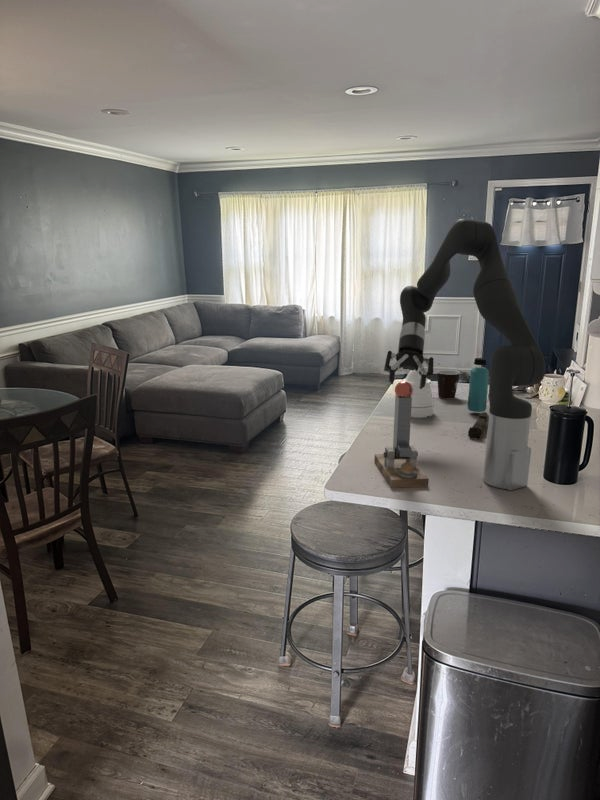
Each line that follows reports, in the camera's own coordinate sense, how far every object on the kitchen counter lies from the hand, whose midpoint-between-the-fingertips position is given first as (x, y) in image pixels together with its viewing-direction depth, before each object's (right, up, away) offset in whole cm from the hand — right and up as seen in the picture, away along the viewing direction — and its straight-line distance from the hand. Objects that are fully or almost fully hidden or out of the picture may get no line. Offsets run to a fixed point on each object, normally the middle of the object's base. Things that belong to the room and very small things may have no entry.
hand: (406, 385), depth 159 cm
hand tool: (+26, -15, +14) cm, 33 cm away
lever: (-6, -19, -24) cm, 31 cm away
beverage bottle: (+31, -9, +34) cm, 47 cm away
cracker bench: (-6, -23, -22) cm, 32 cm away
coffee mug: (+26, -3, +58) cm, 64 cm away
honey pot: (+10, -9, +35) cm, 38 cm away
